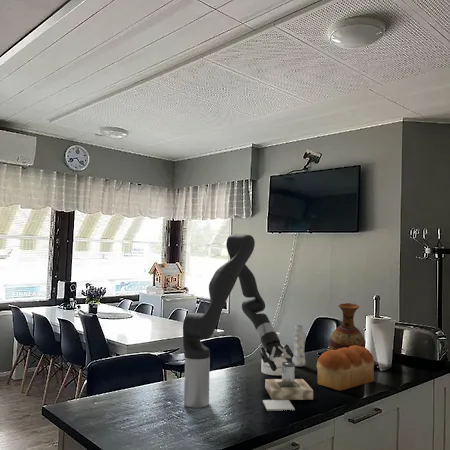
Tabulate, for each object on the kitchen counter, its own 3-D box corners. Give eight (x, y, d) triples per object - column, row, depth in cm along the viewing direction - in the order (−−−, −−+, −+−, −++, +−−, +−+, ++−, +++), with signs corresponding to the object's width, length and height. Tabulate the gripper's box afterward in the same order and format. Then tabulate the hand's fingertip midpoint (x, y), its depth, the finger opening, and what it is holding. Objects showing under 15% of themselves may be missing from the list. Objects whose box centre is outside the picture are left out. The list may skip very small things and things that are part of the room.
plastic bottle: (296, 364, 234) (296, 324, 235) (308, 366, 230) (308, 325, 231) (289, 366, 229) (289, 325, 230) (301, 368, 225) (301, 327, 226)
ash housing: (272, 399, 176) (272, 390, 176) (265, 387, 192) (265, 379, 192) (313, 399, 177) (313, 390, 178) (302, 387, 193) (302, 379, 193)
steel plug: (281, 396, 181) (282, 365, 182) (278, 391, 188) (278, 361, 188) (298, 395, 182) (298, 365, 182) (294, 390, 188) (294, 361, 189)
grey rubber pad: (267, 410, 164) (267, 409, 164) (262, 401, 174) (262, 400, 174) (294, 410, 165) (294, 408, 165) (288, 401, 175) (288, 399, 175)
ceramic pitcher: (329, 362, 239) (329, 304, 240) (327, 354, 258) (327, 300, 260) (368, 364, 235) (368, 305, 237) (363, 356, 255) (363, 301, 257)
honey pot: (270, 367, 227) (270, 330, 229) (293, 371, 220) (293, 333, 221) (256, 372, 217) (256, 333, 218) (280, 376, 210) (280, 336, 211)
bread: (340, 391, 189) (340, 354, 190) (316, 384, 199) (316, 349, 200) (374, 381, 205) (374, 347, 206) (351, 375, 215) (351, 343, 215)
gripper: (257, 332, 193) (273, 365, 182) (285, 329, 200) (301, 362, 189) (250, 342, 197) (265, 376, 186) (277, 339, 204) (293, 372, 194)
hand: (283, 369), depth 188 cm, fingers open, 8 cm apart
